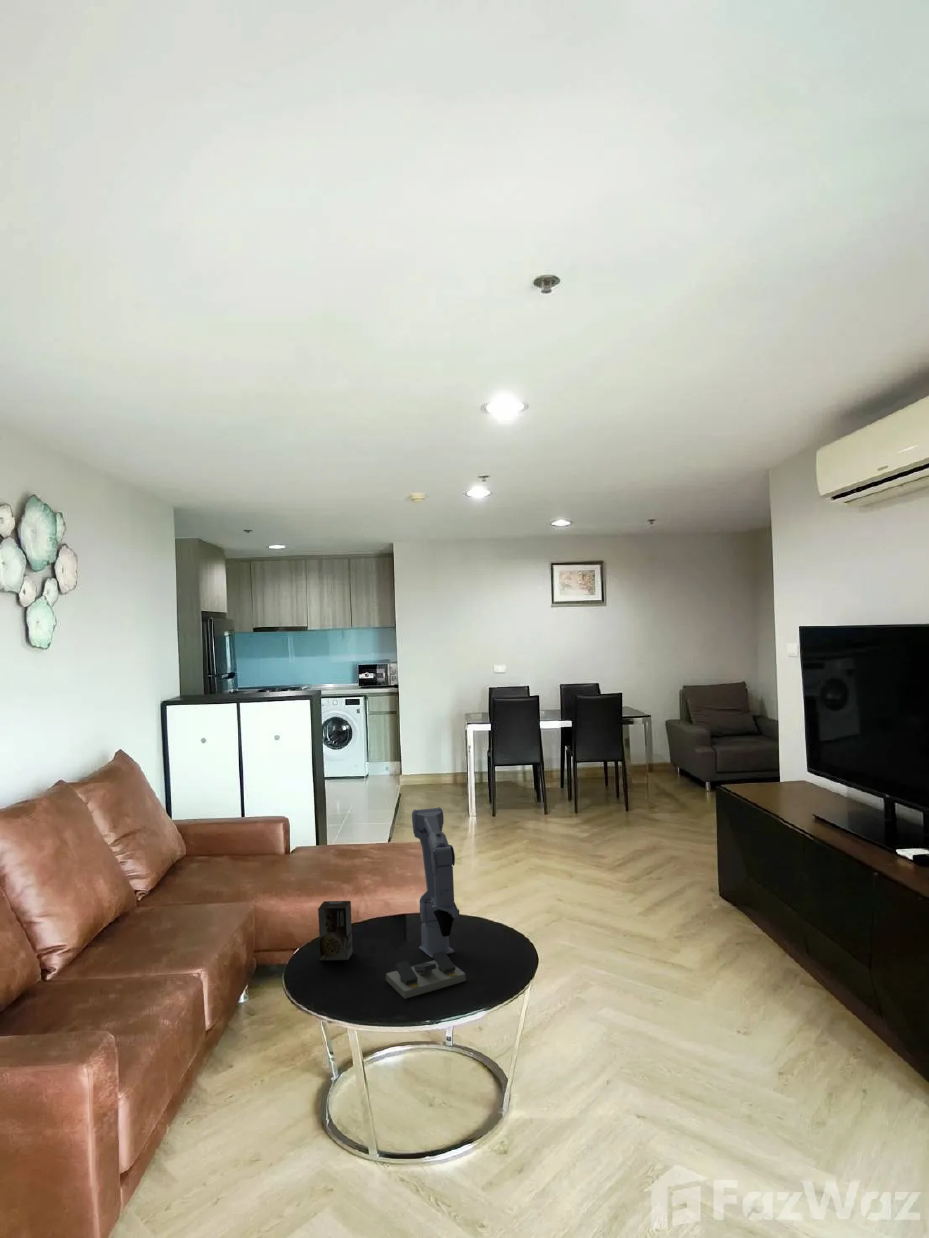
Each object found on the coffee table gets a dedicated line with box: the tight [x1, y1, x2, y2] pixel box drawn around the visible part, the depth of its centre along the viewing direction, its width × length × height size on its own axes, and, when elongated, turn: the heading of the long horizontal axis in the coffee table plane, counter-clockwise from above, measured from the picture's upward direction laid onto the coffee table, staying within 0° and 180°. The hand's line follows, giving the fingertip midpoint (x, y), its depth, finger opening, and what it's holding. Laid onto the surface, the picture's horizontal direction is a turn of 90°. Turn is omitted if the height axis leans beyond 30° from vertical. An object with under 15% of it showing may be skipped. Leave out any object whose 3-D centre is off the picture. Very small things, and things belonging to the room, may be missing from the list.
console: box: [385, 959, 467, 1000], centre depth 202 cm, size 13×19×3 cm
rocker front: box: [394, 960, 418, 985], centre depth 200 cm, size 8×4×1 cm, turn 29°
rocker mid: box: [413, 962, 436, 972], centre depth 203 cm, size 8×4×1 cm, turn 29°
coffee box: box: [317, 900, 354, 961], centre depth 222 cm, size 9×6×16 cm
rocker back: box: [432, 951, 456, 974], centre depth 205 cm, size 8×4×1 cm, turn 29°
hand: (445, 935), depth 208 cm, fingers closed
